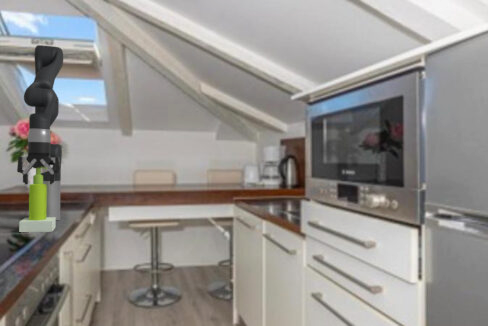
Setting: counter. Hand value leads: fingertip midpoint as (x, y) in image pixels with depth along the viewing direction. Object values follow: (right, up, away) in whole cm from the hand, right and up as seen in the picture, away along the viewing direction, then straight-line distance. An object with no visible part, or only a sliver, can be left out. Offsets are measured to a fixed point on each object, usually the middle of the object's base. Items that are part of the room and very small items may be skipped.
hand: (38, 184), depth 154 cm
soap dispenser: (0, -13, 0) cm, 14 cm away
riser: (0, -17, 0) cm, 17 cm away
